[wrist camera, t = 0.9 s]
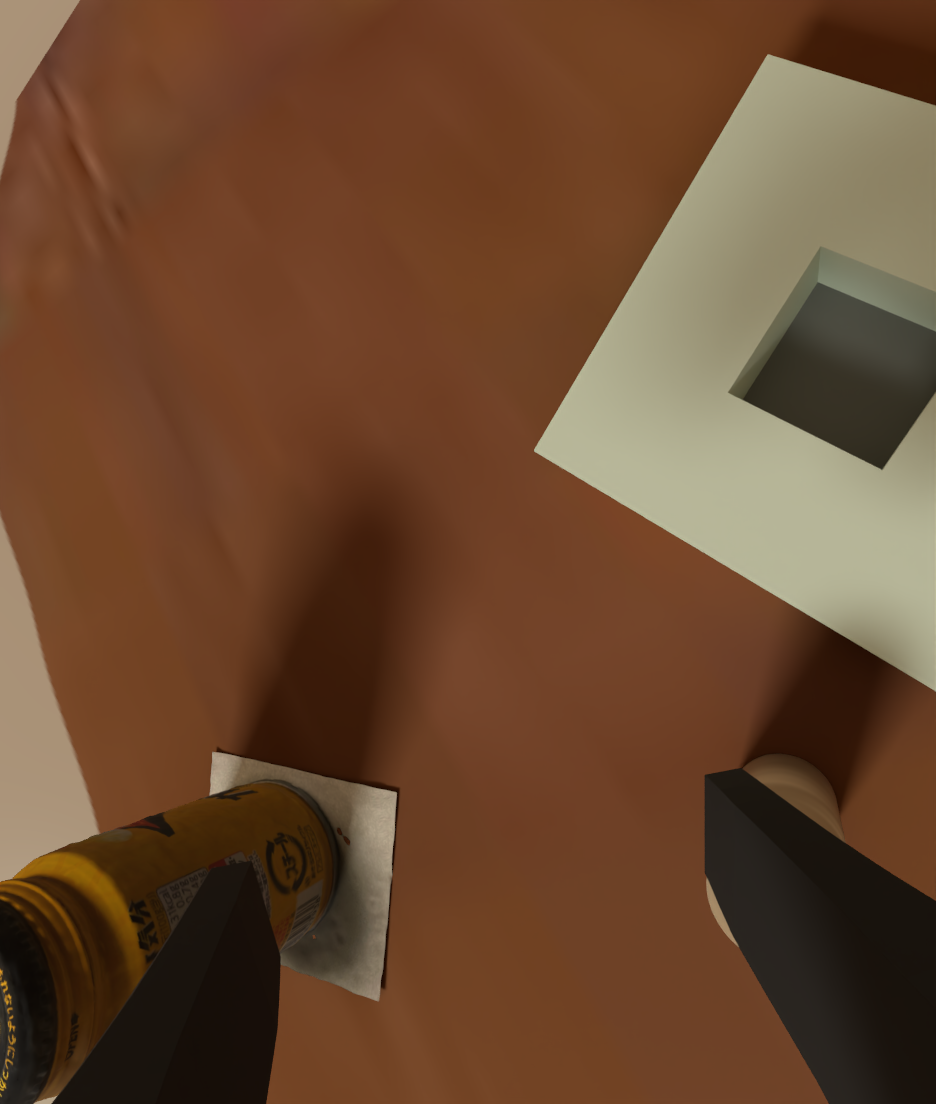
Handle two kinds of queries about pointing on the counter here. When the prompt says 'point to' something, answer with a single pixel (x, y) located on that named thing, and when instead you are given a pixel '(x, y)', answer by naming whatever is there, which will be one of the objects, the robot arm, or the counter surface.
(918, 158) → the hole block
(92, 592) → the counter surface
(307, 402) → the counter surface
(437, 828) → the counter surface
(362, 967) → the condiment
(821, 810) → the dowel
